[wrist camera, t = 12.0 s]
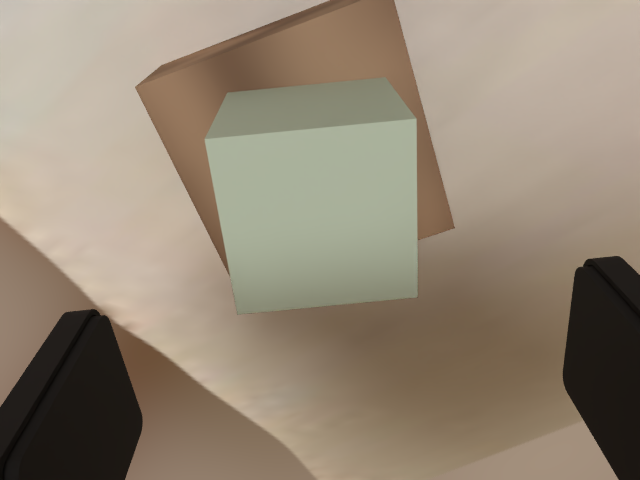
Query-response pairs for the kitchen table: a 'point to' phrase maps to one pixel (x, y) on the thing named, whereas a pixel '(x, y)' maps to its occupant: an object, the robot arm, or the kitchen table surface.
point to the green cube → (316, 194)
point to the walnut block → (284, 71)
